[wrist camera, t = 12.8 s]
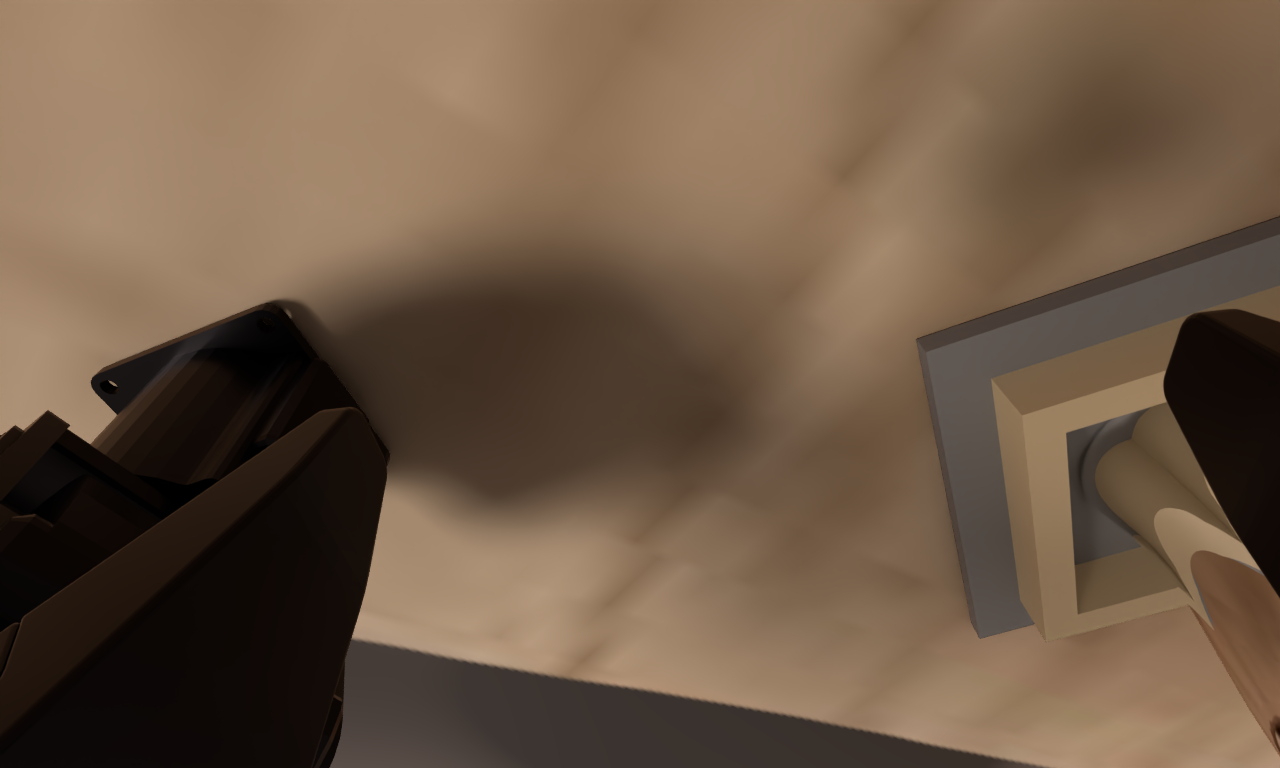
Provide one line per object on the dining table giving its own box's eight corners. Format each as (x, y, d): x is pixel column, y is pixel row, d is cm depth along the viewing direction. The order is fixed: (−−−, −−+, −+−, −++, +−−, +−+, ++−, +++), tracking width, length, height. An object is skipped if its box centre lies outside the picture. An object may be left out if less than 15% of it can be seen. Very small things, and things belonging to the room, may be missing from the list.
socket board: (971, 623, 31) (1002, 681, 29) (916, 339, 23) (952, 388, 21) (1355, 518, 29) (1422, 573, 26) (1441, 162, 21) (1549, 195, 18)
